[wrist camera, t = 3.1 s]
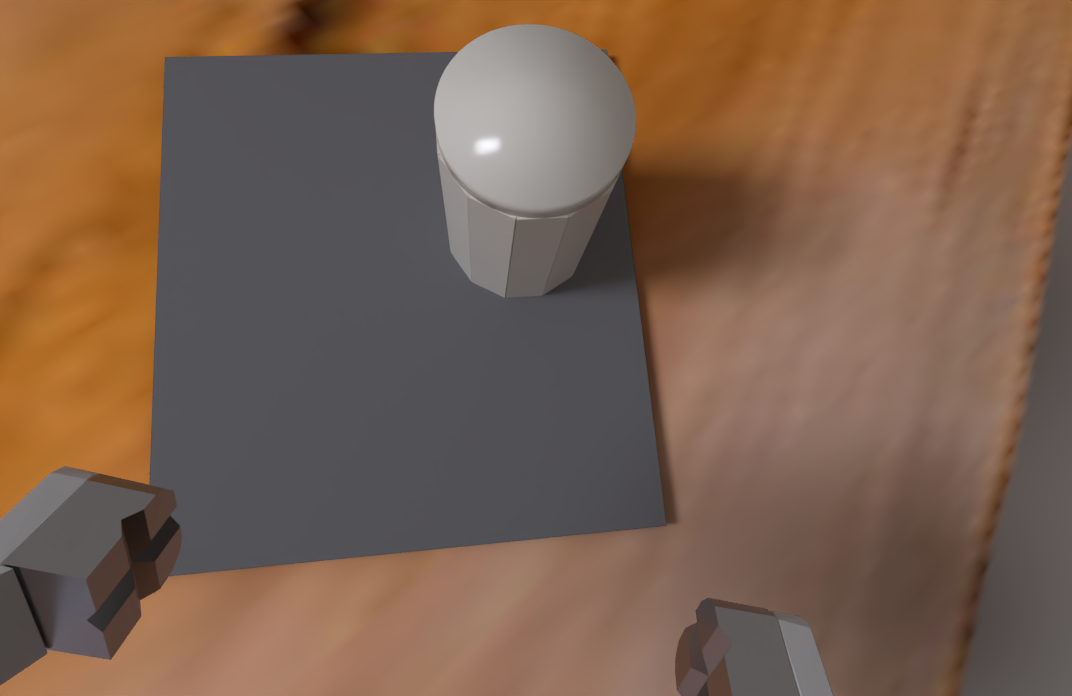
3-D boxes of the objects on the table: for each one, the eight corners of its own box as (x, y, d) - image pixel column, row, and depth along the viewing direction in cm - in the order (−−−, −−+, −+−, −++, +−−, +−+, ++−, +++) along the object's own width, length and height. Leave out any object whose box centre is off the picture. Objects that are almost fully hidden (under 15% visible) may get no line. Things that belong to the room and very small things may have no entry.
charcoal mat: (663, 524, 25) (666, 525, 25) (153, 576, 23) (146, 578, 23) (604, 56, 30) (606, 49, 29) (170, 64, 27) (164, 57, 27)
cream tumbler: (592, 292, 26) (647, 202, 18) (453, 300, 26) (439, 211, 17) (578, 166, 28) (623, 23, 19) (445, 171, 27) (428, 25, 18)
